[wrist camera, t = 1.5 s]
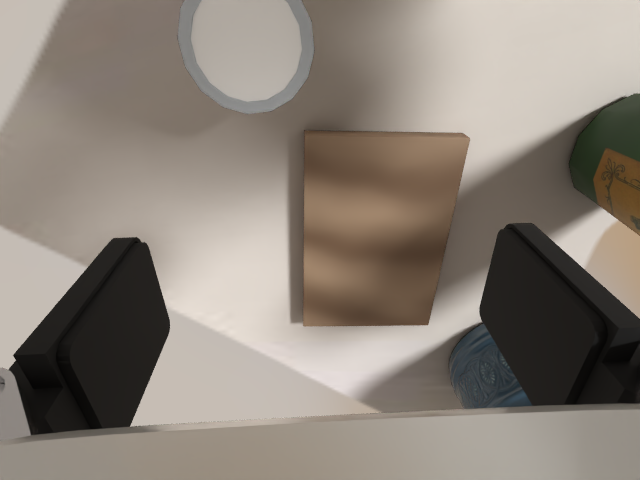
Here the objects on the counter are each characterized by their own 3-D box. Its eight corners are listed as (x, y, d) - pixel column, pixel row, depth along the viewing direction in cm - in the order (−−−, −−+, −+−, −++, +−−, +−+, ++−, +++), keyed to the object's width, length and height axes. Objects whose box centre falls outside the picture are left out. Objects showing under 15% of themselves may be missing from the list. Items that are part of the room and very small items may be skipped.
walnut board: (304, 130, 28) (304, 135, 27) (462, 133, 29) (470, 138, 28) (303, 315, 37) (303, 326, 36) (423, 314, 38) (428, 325, 37)
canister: (470, 409, 46) (555, 602, 31) (426, 345, 40) (502, 544, 25) (579, 365, 43) (732, 556, 28) (547, 289, 37) (718, 478, 22)
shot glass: (307, 97, 27) (309, 119, 21) (209, 88, 27) (182, 109, 21) (315, -19, 24) (320, -31, 18) (203, -31, 23) (169, -48, 17)
